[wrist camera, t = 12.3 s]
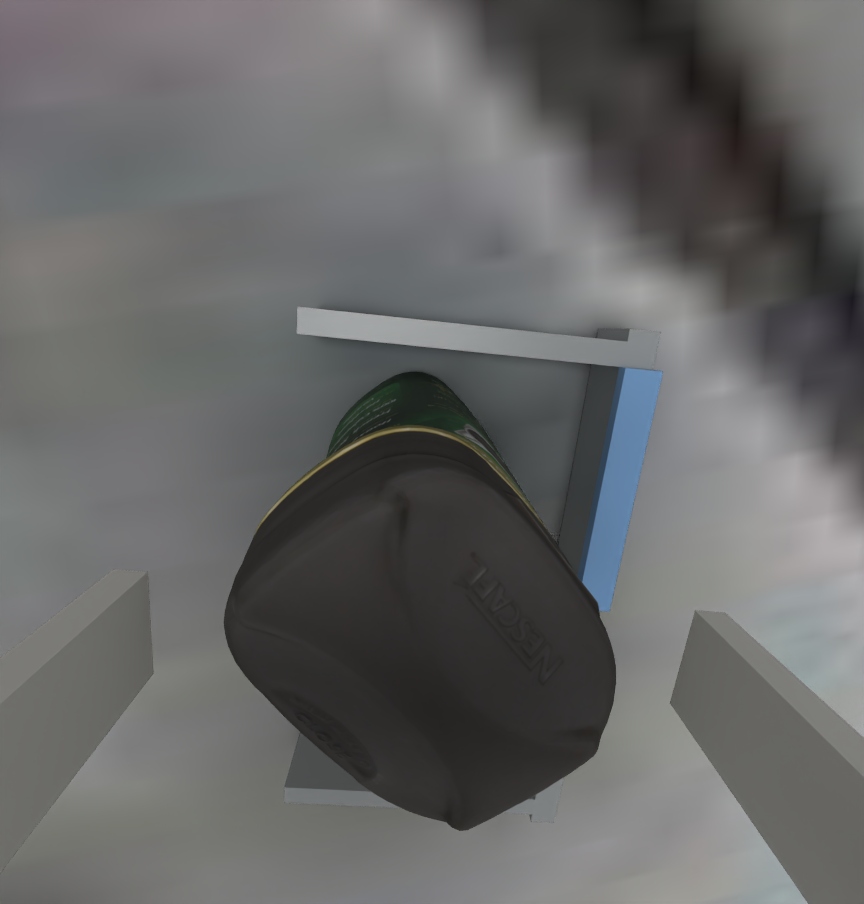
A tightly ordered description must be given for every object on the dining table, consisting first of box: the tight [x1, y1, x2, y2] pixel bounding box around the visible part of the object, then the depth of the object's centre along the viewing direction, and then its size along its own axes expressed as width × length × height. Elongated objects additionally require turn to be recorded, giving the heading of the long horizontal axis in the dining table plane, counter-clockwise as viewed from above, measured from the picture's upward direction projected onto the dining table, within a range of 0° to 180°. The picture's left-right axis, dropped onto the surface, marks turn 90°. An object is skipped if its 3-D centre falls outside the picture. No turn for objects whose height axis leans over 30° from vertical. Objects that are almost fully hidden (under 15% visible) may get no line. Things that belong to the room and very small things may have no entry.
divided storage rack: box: [284, 307, 663, 823], centre depth 27 cm, size 18×30×5 cm, turn 174°
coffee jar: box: [224, 372, 616, 831], centre depth 18 cm, size 10×8×19 cm
